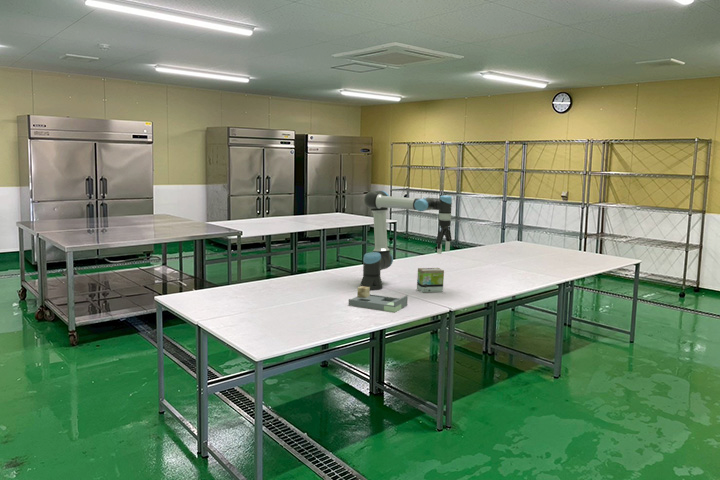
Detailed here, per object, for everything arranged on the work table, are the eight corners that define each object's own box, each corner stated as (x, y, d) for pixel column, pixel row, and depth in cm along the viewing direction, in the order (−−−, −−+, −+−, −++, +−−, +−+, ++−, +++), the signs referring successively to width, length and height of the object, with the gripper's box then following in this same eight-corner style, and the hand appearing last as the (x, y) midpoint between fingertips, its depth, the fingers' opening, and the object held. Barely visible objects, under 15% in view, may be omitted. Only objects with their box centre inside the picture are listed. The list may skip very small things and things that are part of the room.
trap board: (348, 305, 330) (348, 295, 329) (362, 298, 345) (362, 289, 345) (395, 312, 316) (395, 302, 315) (407, 305, 332) (407, 295, 331)
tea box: (422, 292, 365) (422, 270, 363) (416, 289, 374) (417, 267, 372) (443, 291, 369) (444, 269, 367) (437, 288, 378) (438, 267, 376)
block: (357, 296, 338) (357, 287, 338) (361, 294, 343) (361, 286, 343) (365, 297, 336) (365, 288, 335) (369, 295, 341) (369, 287, 340)
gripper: (442, 221, 346) (441, 255, 349) (457, 218, 367) (455, 250, 370) (431, 220, 350) (430, 254, 353) (446, 217, 371) (445, 249, 374)
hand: (443, 252), depth 361 cm, fingers open, 13 cm apart
